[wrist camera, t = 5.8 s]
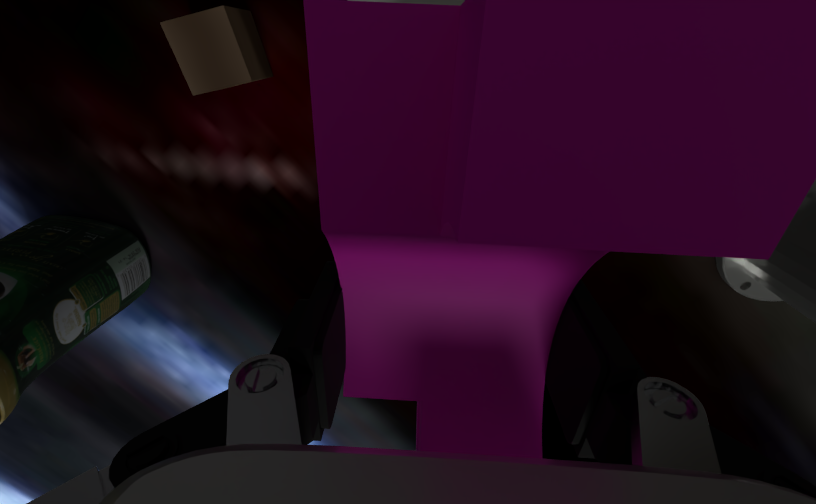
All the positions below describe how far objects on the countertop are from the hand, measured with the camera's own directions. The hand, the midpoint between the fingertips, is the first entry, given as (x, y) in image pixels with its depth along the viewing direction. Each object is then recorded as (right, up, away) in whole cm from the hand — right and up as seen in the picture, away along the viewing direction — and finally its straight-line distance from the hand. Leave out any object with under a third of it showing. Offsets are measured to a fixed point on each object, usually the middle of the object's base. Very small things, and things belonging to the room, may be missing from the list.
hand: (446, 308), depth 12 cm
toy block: (0, +1, +1) cm, 2 cm away
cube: (-13, +16, +14) cm, 25 cm away
